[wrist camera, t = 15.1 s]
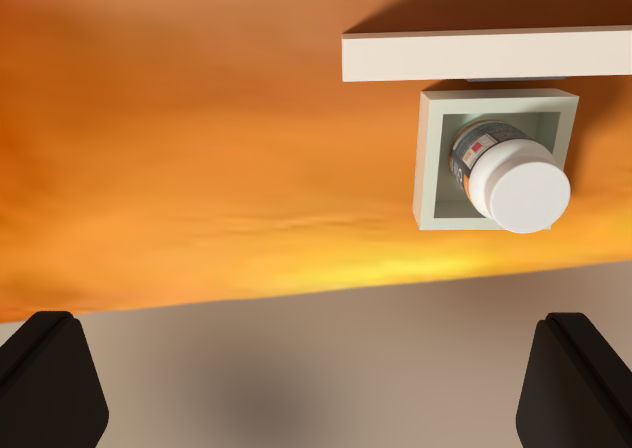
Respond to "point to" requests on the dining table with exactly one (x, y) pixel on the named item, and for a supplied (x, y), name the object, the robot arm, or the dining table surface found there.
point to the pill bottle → (508, 175)
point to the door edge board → (488, 54)
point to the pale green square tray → (456, 112)
